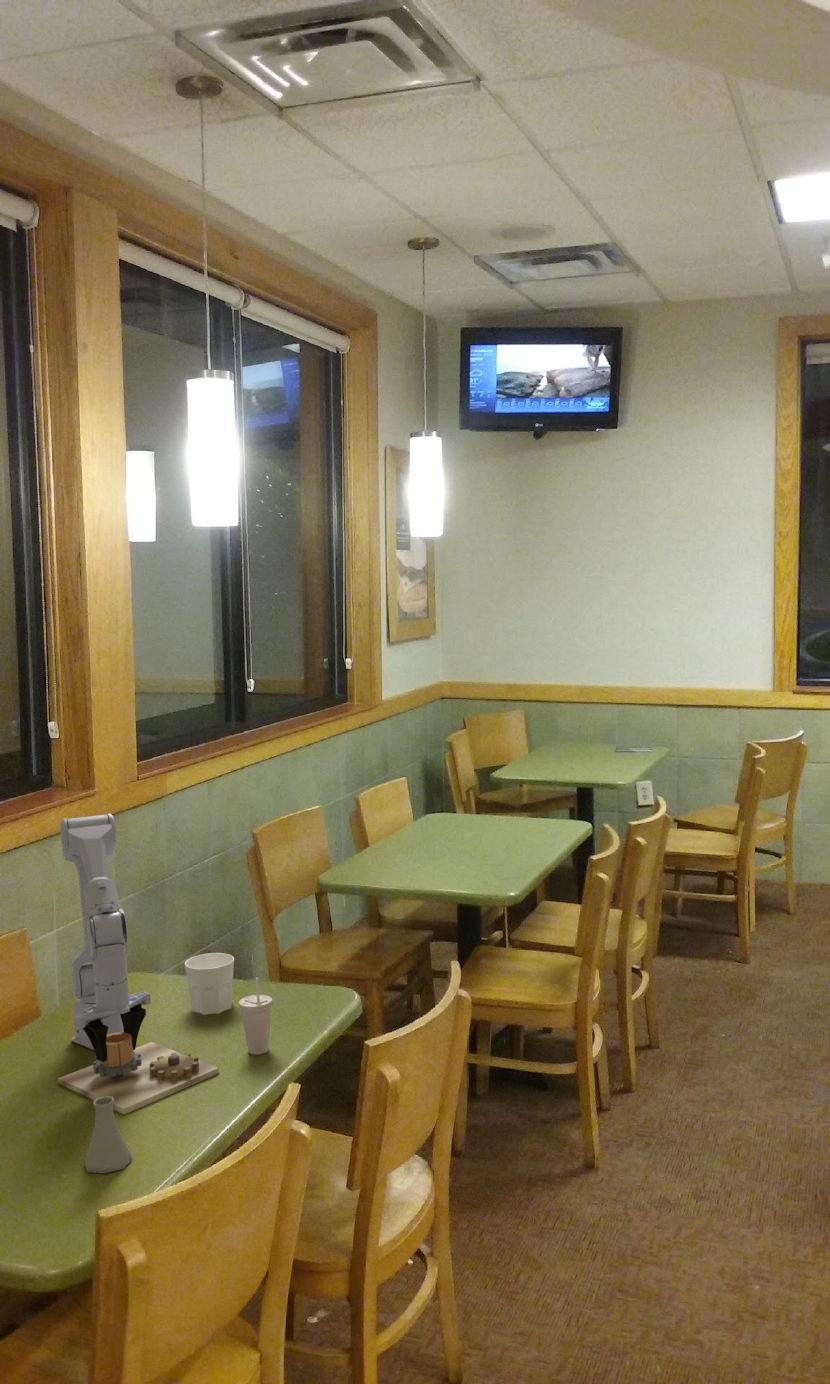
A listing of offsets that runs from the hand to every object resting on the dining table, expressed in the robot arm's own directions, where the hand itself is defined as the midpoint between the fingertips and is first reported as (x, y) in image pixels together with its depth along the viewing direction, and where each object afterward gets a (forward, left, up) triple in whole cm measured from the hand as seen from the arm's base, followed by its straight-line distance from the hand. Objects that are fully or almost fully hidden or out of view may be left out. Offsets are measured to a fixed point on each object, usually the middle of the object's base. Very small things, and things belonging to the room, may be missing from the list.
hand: (116, 1054), depth 210 cm
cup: (-15, +33, -5) cm, 37 cm away
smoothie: (+10, +24, -5) cm, 27 cm away
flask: (+24, -18, -5) cm, 30 cm away
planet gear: (0, 0, -2) cm, 2 cm away
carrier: (+2, +3, -5) cm, 6 cm away
